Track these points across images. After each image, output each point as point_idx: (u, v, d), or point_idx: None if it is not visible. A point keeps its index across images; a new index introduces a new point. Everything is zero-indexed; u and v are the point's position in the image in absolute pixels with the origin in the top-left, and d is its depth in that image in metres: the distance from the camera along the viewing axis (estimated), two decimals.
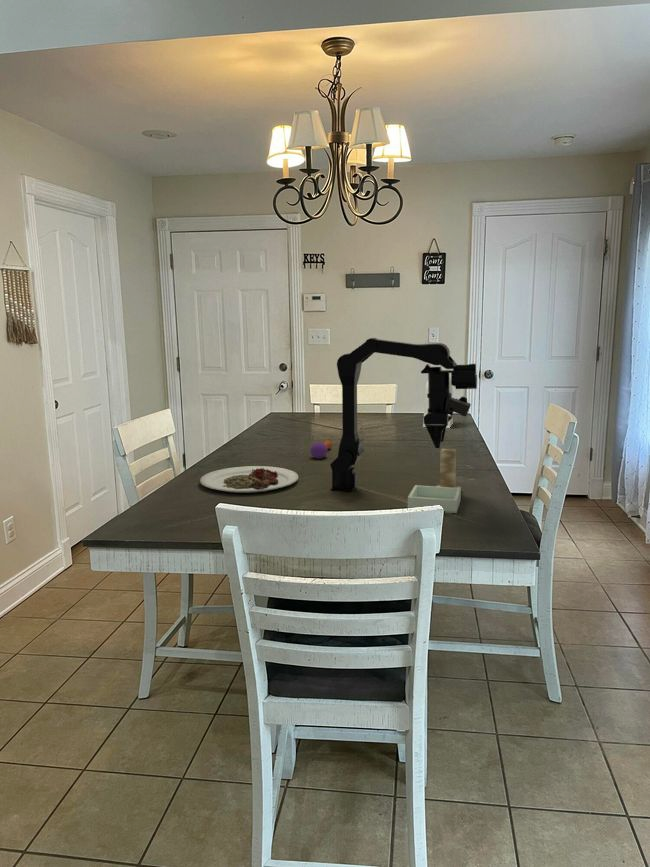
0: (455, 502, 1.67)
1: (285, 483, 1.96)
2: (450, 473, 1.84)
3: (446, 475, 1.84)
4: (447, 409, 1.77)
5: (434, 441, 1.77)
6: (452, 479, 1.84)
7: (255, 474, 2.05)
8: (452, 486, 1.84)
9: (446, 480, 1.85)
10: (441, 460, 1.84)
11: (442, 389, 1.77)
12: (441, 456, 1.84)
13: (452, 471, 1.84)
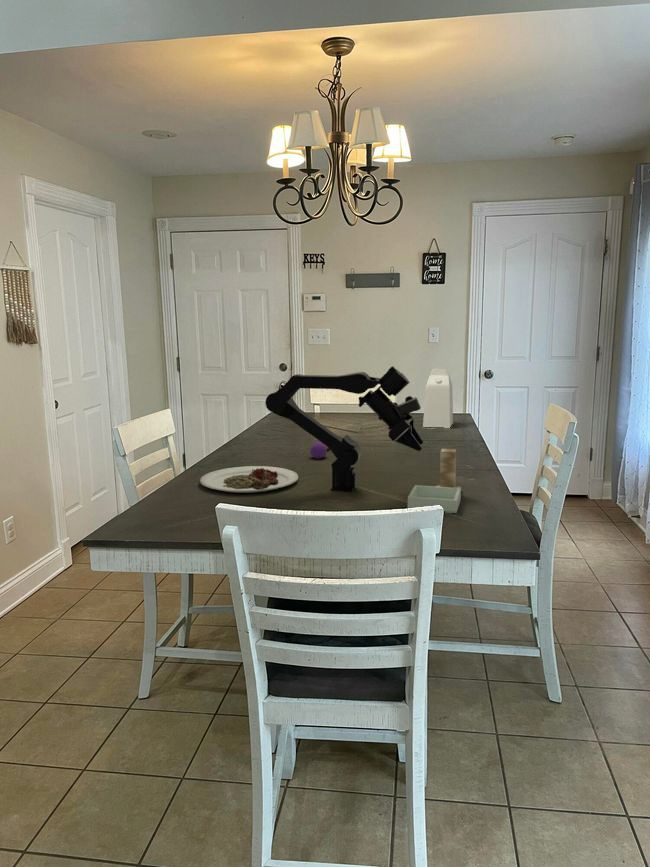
0: (455, 502, 1.67)
1: (285, 483, 1.96)
2: (450, 473, 1.84)
3: (446, 475, 1.84)
4: (402, 415, 1.83)
5: (413, 447, 1.81)
6: (452, 479, 1.84)
7: (255, 474, 2.05)
8: (452, 486, 1.84)
9: (446, 480, 1.85)
10: (441, 460, 1.84)
11: (385, 404, 1.83)
12: (441, 456, 1.84)
13: (452, 471, 1.84)
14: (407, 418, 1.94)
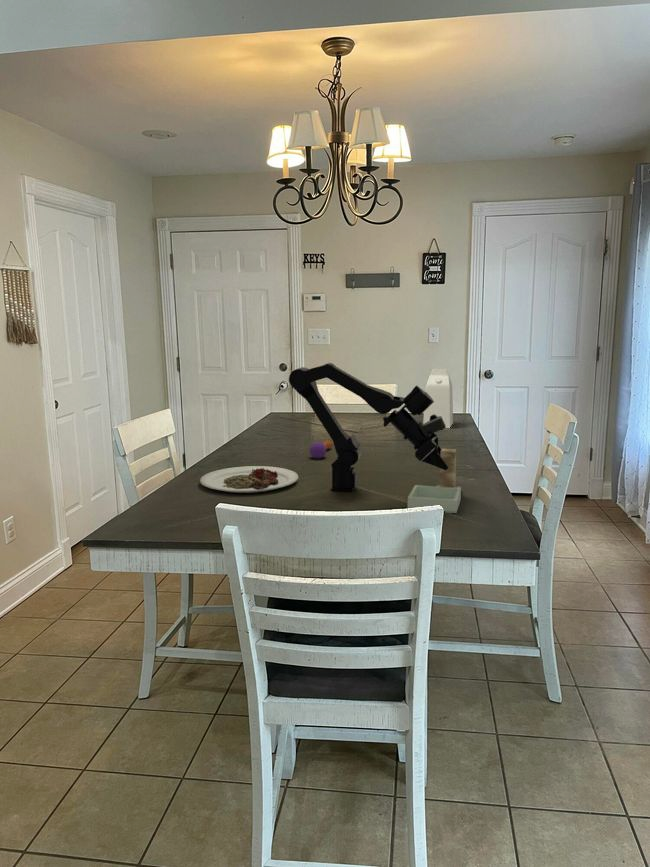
0: (455, 502, 1.67)
1: (285, 483, 1.96)
2: (450, 473, 1.84)
3: (446, 475, 1.84)
4: (427, 435, 1.82)
5: (440, 466, 1.81)
6: (452, 479, 1.84)
7: (255, 474, 2.05)
8: (452, 486, 1.84)
9: (446, 480, 1.85)
10: None
11: (410, 424, 1.83)
12: (441, 456, 1.84)
13: (452, 471, 1.84)
14: (431, 436, 1.94)
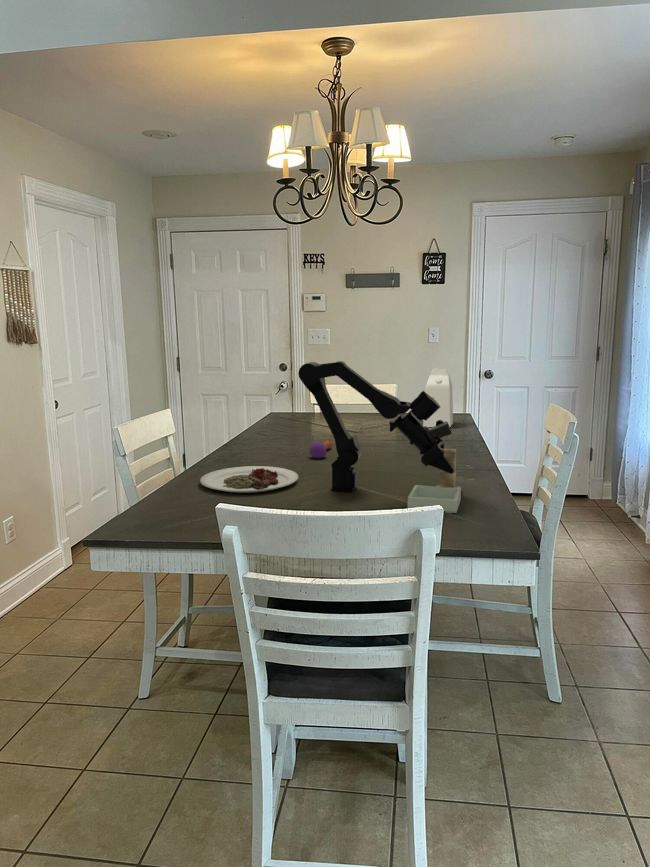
0: (455, 502, 1.67)
1: (285, 483, 1.96)
2: None
3: (446, 475, 1.84)
4: (433, 440, 1.82)
5: (446, 470, 1.83)
6: (452, 479, 1.84)
7: (255, 474, 2.05)
8: (452, 486, 1.84)
9: (446, 479, 1.85)
10: None
11: (416, 429, 1.83)
12: None
13: None
14: (437, 441, 1.94)
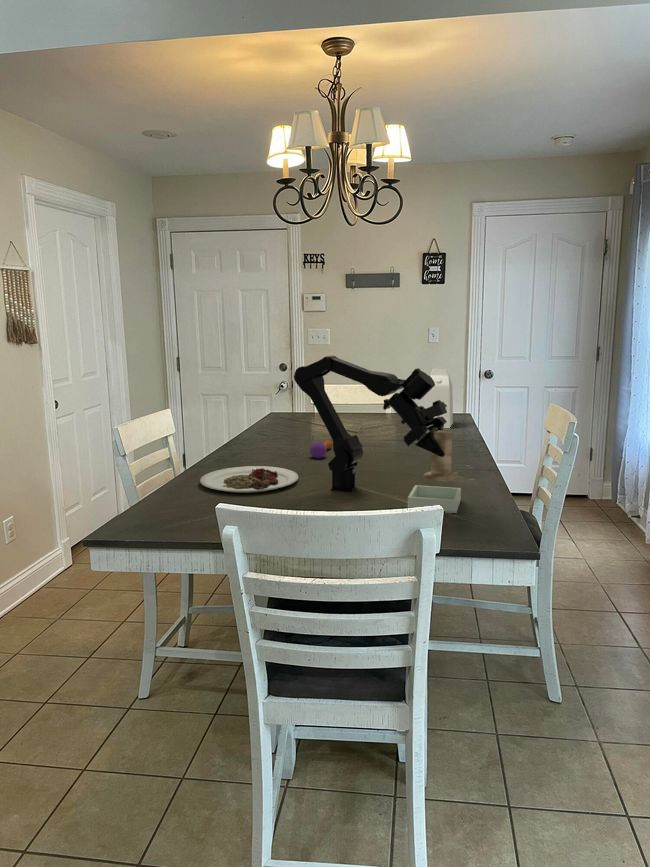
0: (455, 502, 1.67)
1: (285, 483, 1.96)
2: None
3: (437, 458, 1.75)
4: (423, 420, 1.74)
5: (435, 452, 1.74)
6: (443, 463, 1.74)
7: (255, 474, 2.05)
8: (443, 470, 1.74)
9: (437, 463, 1.75)
10: None
11: (407, 408, 1.76)
12: None
13: None
14: (441, 423, 1.84)
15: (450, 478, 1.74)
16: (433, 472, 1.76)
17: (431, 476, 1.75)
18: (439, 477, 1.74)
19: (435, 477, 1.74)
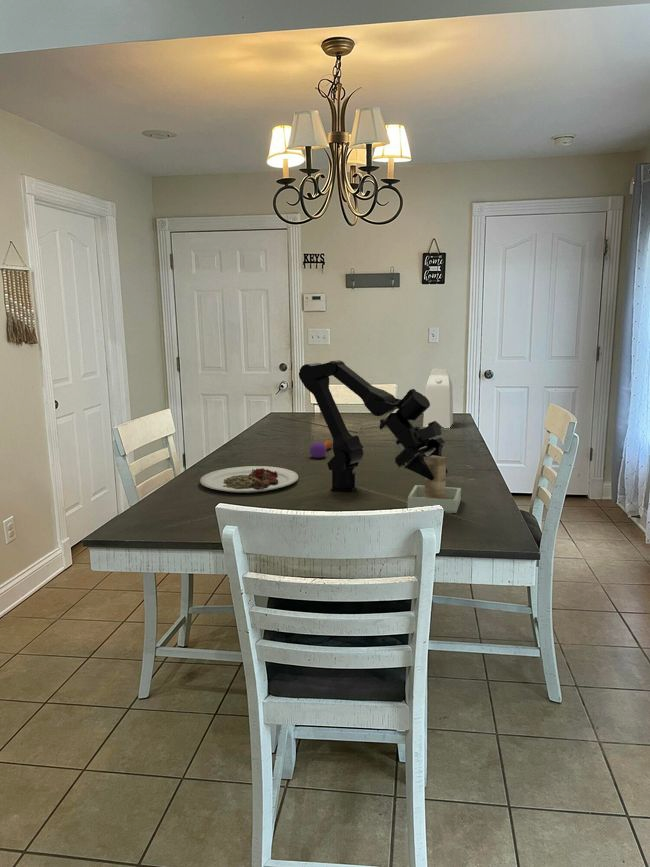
0: (455, 502, 1.67)
1: (285, 483, 1.96)
2: (434, 482, 1.72)
3: (430, 484, 1.73)
4: (416, 442, 1.73)
5: (425, 475, 1.71)
6: (436, 488, 1.72)
7: (255, 474, 2.05)
8: (436, 496, 1.73)
9: (430, 488, 1.73)
10: None
11: (402, 429, 1.75)
12: (426, 463, 1.73)
13: (436, 480, 1.72)
14: (439, 444, 1.82)
15: None
16: (426, 497, 1.74)
17: None
18: None
19: None
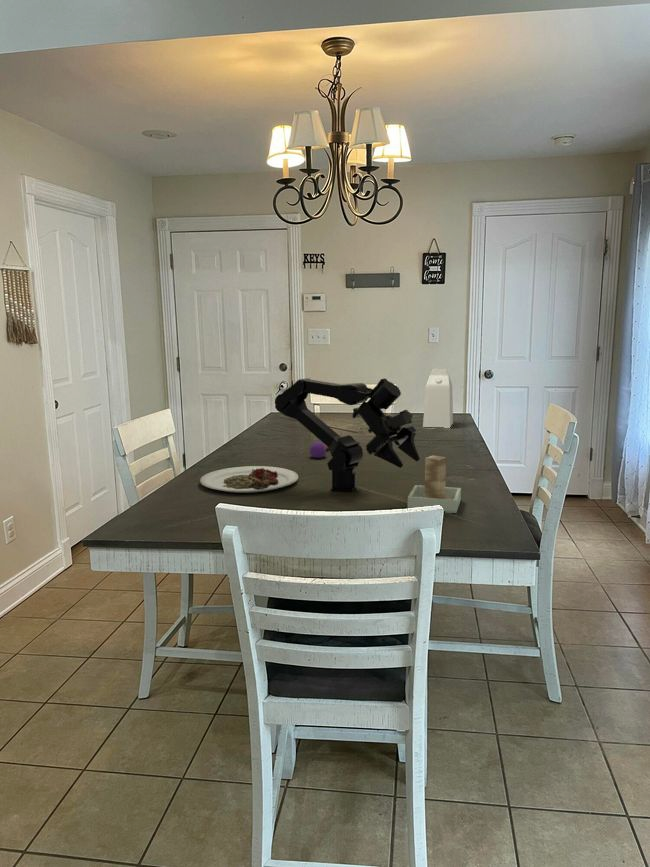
0: (455, 502, 1.67)
1: (285, 483, 1.96)
2: (434, 482, 1.72)
3: (430, 484, 1.73)
4: (387, 429, 1.77)
5: (394, 463, 1.75)
6: (436, 488, 1.72)
7: (255, 474, 2.05)
8: (436, 496, 1.73)
9: (430, 488, 1.73)
10: (426, 467, 1.73)
11: (373, 417, 1.80)
12: (426, 463, 1.73)
13: (436, 480, 1.72)
14: (411, 433, 1.86)
15: None
16: (426, 497, 1.74)
17: None
18: None
19: None
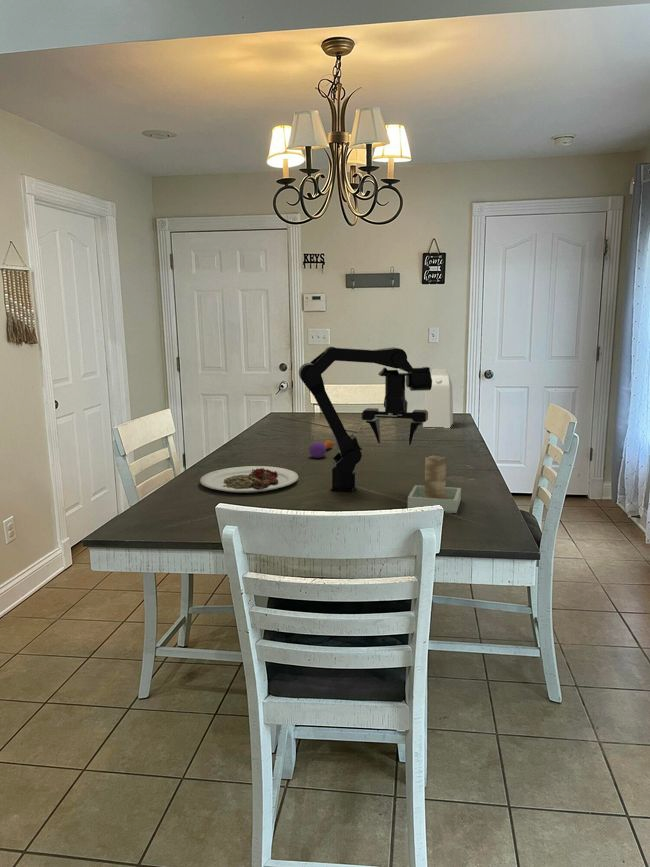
0: (455, 502, 1.67)
1: (285, 483, 1.96)
2: (434, 482, 1.72)
3: (430, 484, 1.73)
4: (406, 408, 1.92)
5: (412, 438, 1.90)
6: (436, 488, 1.72)
7: (255, 474, 2.05)
8: (436, 496, 1.73)
9: (430, 488, 1.73)
10: (426, 467, 1.73)
11: (401, 391, 1.87)
12: (426, 463, 1.73)
13: (436, 480, 1.72)
14: None
15: None
16: (426, 497, 1.74)
17: None
18: None
19: None
